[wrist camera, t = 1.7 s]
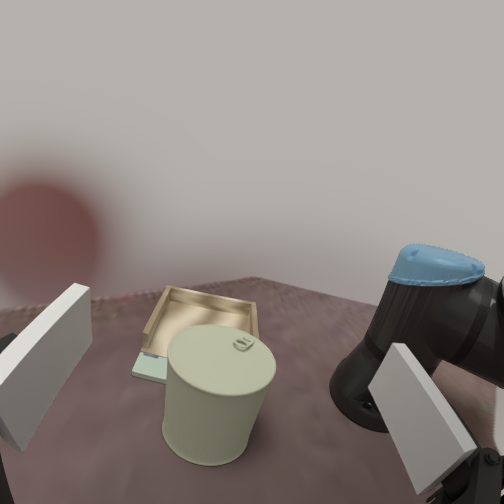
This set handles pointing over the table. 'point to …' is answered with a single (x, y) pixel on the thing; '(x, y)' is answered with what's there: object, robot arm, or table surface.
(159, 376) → the tailgate
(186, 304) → the tray
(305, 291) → the table surface
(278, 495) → the table surface
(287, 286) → the table surface
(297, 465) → the table surface
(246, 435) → the can
